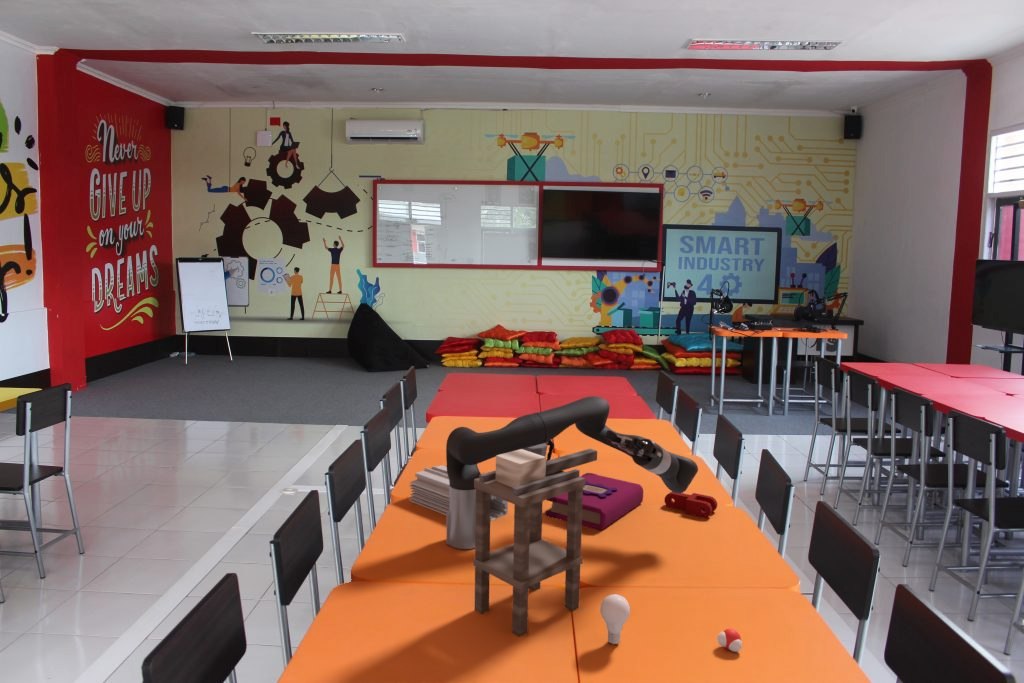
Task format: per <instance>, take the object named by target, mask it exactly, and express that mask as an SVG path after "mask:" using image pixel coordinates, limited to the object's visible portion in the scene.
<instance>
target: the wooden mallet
mask: <svg viewBox="0 0 1024 683" xmlns="http://www.w3.org/2000/svg"><path fill="white" fill-rule="evenodd" d="M546 460H547V456H545V457H544V456H541V455H538V454H535V453H532V452H529V451H526V450H523V449H520V450H516V451H512V452H508V453H504V454H500V455H496V457H495V471H496V481H497V482H499V483H502V484H505V485H507V486H510V487H512V488H515V487H518V486H521V485H525V484H528V483H531V482H535V481H538V480H541V479H545V478H546V475H549V474H552V473H556V472H559V471H565V470H568V469H571V468H572V469H573V468H575V467H578V466H582V465H586V464H589V463H591V462H596V461H598V450H595V449H593V448H588V449H587V448H586V449H584V450H580V451H577V452H573V453H570V454H567V455H563V456H560V457H559V456H558V457H555V458H552V459H551V458H550V460H548V461H546Z"/></svg>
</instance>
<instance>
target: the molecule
mask: <svg viewBox="0 0 1024 683" xmlns="http://www.w3.org/2000/svg"><path fill="white" fill-rule="evenodd" d="M716 639H717V643H718V644H719V646H721V647H723V648H726V649H727V650H730V651H731V652H733V653H738V652H739V651H741V650H742V647H743V642H742V638H741V635H740V633H739V632H738V631H737V630H735V629H733V628H726V629H725V630H723V631H721V632H719V634H718V635H717V637H716Z"/></svg>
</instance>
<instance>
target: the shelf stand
mask: <svg viewBox="0 0 1024 683" xmlns="http://www.w3.org/2000/svg"><path fill="white" fill-rule="evenodd" d="M580 473H581V472H580V470H579V469H576V468H575V469H572V470H569V471H565V470H562V471H559V472H556V473H552V474H549V475H546V478H545V479H541V480H538V481H535V482H531V483H528V484H525V485H521V486H518V487H515V488H512V487H510V486H507V485H505V484H502V483H499V482H497V481H496V470H493V471H490V472H486V473H481V475H479V478H477V479H474V488H476V528H475V548H474V549H475V550H474V552H475V553H474V558H472V559H473V563H472V565H473V566H474V611H475V612H476V613H478V614H480V615H482V614H484V613H487V612H489V611H490V575H491V576H493V577H494V578H497V579H499V580H501V581H503V582H505V583H506V584H508V585H510V586H511V587H512V618H511V619H512V622H511V632H512V634H514V635H515V636H518V637H519V638H520V637H523V636H524V635H526V634H528V624H529V623H528V621H529V620H528V618H529V616H528V615H529V590H531V591H532V592H534V591H537V590H539V589H541V582H542V581H545V580H547V579H549V578H551V577H553V576H556V575H559V574H561V573H563V572H565V581H564V582H565V583H564V591H565V592H564V608H565V609H567V610H569V611H571V612H574V611H577V609H579V608H580V585H581V583H580V582H581V565H582V564H583V557H582V554H581V553H582V532H583V531H582V528H583V526H582V502H583V487H585V478H582V477H581V476H580ZM565 493H568V513H567V521H566V547H565V548H566V549H565V548H563V547H560V546H559V545H556V544H554V543H552V542H549V541H547V540H545V539H543V536H542V533H543V502H544V501H547V499H550V498H553V497H556V496H559V495H562V494H565ZM491 495H493V496H495V497H498V498H500V499H503V500H505V501H508V503H510V504H512V505H514V513H513V515H514V516H513V517H514V521H513V543H511V544H508V545H506V546H504V547H503V546H502V547H501V548H498V549H495V550H493V551H491V521H490V505H491Z"/></svg>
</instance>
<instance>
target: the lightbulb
mask: <svg viewBox="0 0 1024 683" xmlns="http://www.w3.org/2000/svg"><path fill="white" fill-rule="evenodd" d="M600 615H601V618H602V619H603V620H604V622H605V625H606V630H607V642H608V643H610V644H612V645H618V644H619V643H621V632H622V631H623V627H624V624H625V623H626V622H627V621H628V620H629V617H630V615H631V607H630V604H629V602H628V600H627V599H626V598H625V597H624V596H622V595H620V594H615V593H614V594H612V593H611V594H610V595H607V596H606V597H605V598H603V600H602V602H601V604H600Z"/></svg>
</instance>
